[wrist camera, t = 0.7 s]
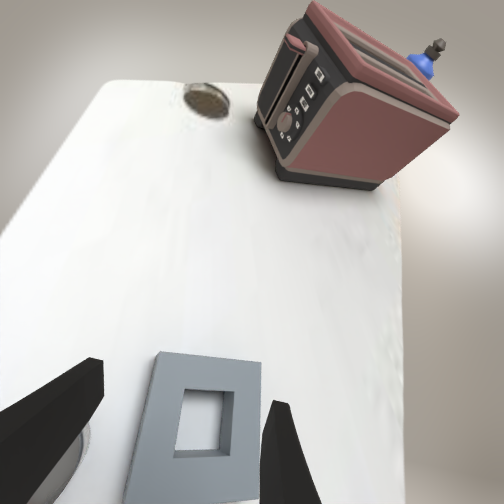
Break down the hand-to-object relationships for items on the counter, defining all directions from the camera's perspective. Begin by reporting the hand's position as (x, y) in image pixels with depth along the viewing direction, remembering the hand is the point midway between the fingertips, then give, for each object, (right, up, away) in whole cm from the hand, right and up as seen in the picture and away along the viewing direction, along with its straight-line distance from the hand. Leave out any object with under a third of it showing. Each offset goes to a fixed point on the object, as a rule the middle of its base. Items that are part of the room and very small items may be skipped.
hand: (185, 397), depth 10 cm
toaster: (+16, +28, +45) cm, 55 cm away
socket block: (-2, -10, +12) cm, 16 cm away
